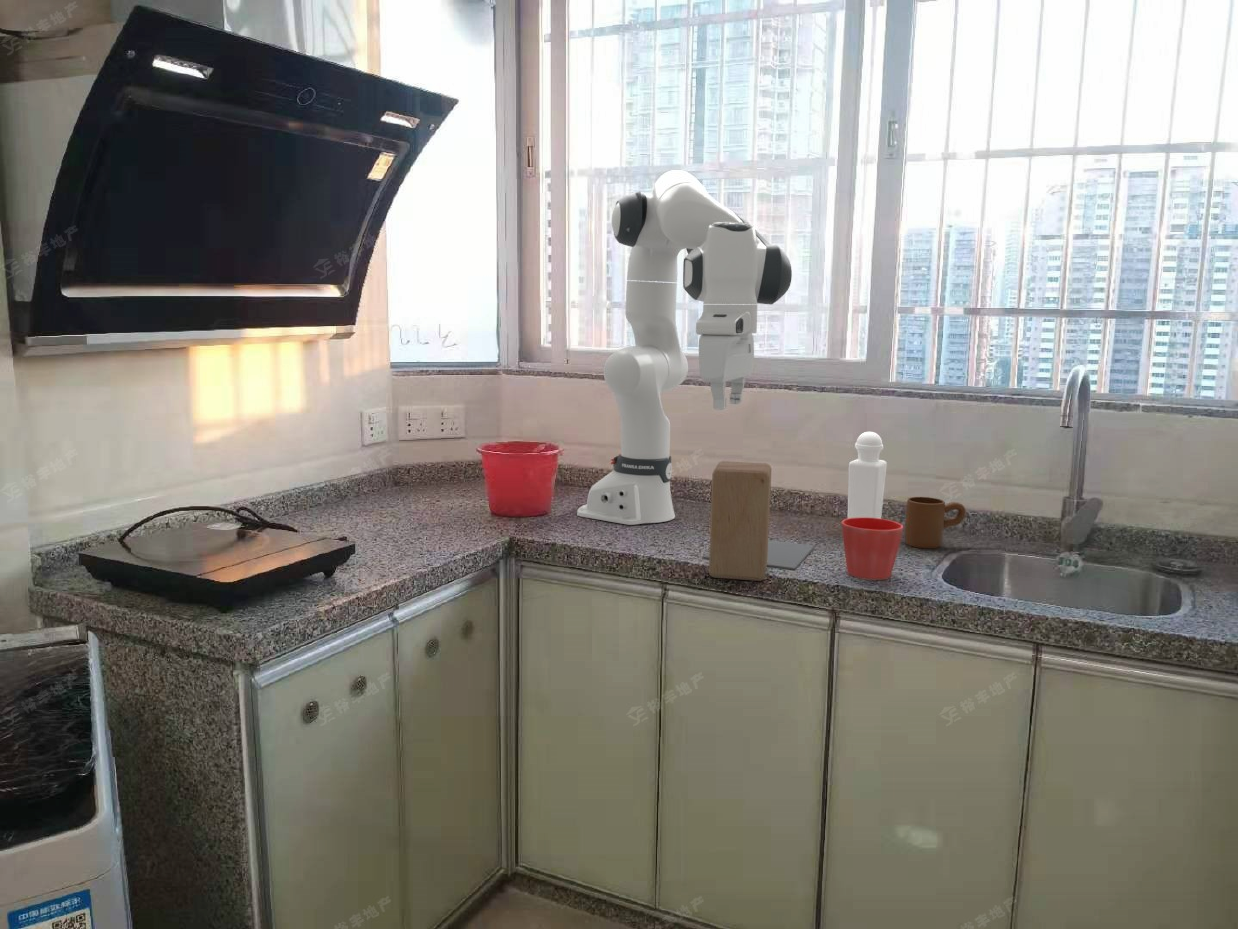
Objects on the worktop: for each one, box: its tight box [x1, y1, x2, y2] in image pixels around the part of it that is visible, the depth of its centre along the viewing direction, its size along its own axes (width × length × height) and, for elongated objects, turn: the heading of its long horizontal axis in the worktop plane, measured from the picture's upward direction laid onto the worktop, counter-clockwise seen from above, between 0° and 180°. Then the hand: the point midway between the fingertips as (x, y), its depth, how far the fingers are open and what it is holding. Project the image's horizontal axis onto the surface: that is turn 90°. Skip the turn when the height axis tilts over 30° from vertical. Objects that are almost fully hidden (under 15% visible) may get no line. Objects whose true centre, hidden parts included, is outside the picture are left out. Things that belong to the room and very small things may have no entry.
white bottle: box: [847, 431, 888, 519], centre depth 205 cm, size 6×6×22 cm
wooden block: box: [708, 460, 772, 582], centre depth 172 cm, size 10×10×20 cm
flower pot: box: [840, 517, 904, 581], centre depth 174 cm, size 11×11×10 cm
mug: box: [903, 496, 967, 550], centre depth 196 cm, size 12×8×9 cm, turn 87°
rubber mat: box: [702, 539, 815, 571], centre depth 188 cm, size 18×18×1 cm
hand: (727, 406), depth 158 cm, fingers open, 8 cm apart
